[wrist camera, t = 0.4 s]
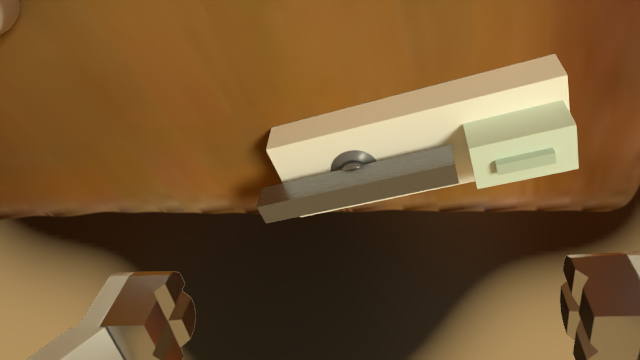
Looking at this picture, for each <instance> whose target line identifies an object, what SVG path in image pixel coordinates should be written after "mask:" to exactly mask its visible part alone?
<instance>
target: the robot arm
mask: <svg viewBox="0 0 640 360" xmlns="http://www.w3.org/2000/svg"><path fill="white" fill-rule="evenodd" d="M563 272H564V274H565V277H566V280H567V281H566V282H565V283H564V284H563V285H562V286H561V293H560V304H561V305H560V306H561V315H562V319H563V324H564V327H565V330H566V333H567V334H568V335H569V336H570V337H571V338H573V339H574V340H575V343H574V350H573V354H574V357H575V360H640V251H635V252H623V253H601V254H580V255H566V257H565V260H564V266H563ZM184 285H185V283H184V281H183V278H182V276H181V274H180V273H178V272H175V271H167V272H166V271H165V272H163V271H162V272H133V273H114V274H113V275H111V276H110V277H109V278H108V280H107V281H106V283H105V284H104V286H103V287H102V289H101V291H100V292H99V294H98V295H97V297H96V298H95V300H94V301H93V303H92V305H91V306H90V308H89V309H88V311H87V313H86V314H85V316H84V317H83V319H82V320H81V322H80V324H79V325H78V327H77V328H70V329H69V330H67V331H66V332H64V333H63V334H61V335H60V336H58V337H57V338H55V339H54V340H53V341H51V342H50V343H48V344H47V345H45V346H44V347H43V348H41V349H40V350H38V351H37V352H36V353H34V354H33V355H31V356H30V357H28V358H27V359H26V360H182V358H183V356H184V355H183V352H182V350H181V346H183V345H184V344H185V343H186V342H187V341H188V340H190V338H191V336H192V333H193V330H194V327H195V318H196V313H195V307H194V304H193V301H192V299H191V297H190V296H188V295H187V294H185V293H184V292H183V291H182V289H183V287H184Z"/></svg>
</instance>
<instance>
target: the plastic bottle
mask: <svg viewBox="0 0 640 360" xmlns="http://www.w3.org/2000/svg"><path fill="white" fill-rule="evenodd" d="M19 14H20V1H19V0H0V34H2V33H4V32H6V31H8V30H9V29H10V28H11V27H12V26H13V24H14V23H15V21H16V20H17V18H18V16H19Z"/></svg>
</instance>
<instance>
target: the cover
mask: <svg viewBox="0 0 640 360" xmlns="http://www.w3.org/2000/svg"><path fill="white" fill-rule="evenodd" d="M463 128H464V132H465V137H466V142H467V146H468V151H469V156H470V160H471V165H472V169H473V173H474V177H475V181H476V186H477V189H481V188H486V187H491V186H495V185H500V184H505V183H510V182H515V181H520V180H525V179H530V178H535V177H540V176H545V175H550V174H555V173H559V172H564V171H569V170H574V169H579V165H578V147H577V128H576V123H575V121H574V119H573V118H572V116H571V114H570V112H569V110H568V108H567V106H566V105H565V103H564V101H563V100H560V101H556V102H552V103H548V104H543V105H539V106H535V107H531V108H526V109H522V110H518V111H514V112H510V113H505V114H501V115H497V116H493V117H489V118H484V119H480V120H476V121H472V122H468V123H463Z"/></svg>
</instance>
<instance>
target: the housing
mask: <svg viewBox="0 0 640 360" xmlns="http://www.w3.org/2000/svg"><path fill="white" fill-rule="evenodd" d="M560 100H563V101H564V103H565V105H566V106H567V108H568V110H569V112H570V109H569V92H568V76H567V73H566V72H565V70H564V68H563V67H562V65H561V63H560V61H559V60H558V58H557V56H556V55H555V54H552V55H548V56H545V57H541V58H537V59H533V60H529V61H525V62H522V63H518V64H514V65H510V66H506V67H502V68H499V69H495V70H491V71H487V72H483V73H479V74H476V75H472V76H468V77H464V78H460V79H457V80H453V81H449V82H445V83H441V84H437V85H434V86H430V87H426V88H422V89H418V90H414V91H411V92H407V93H403V94H399V95H395V96H391V97H388V98H384V99H380V100H376V101H372V102H368V103H365V104H361V105H357V106H353V107H349V108H345V109H342V110H338V111H334V112H330V113H326V114H322V115H319V116H315V117H311V118H307V119H303V120H299V121H296V122H292V123H288V124H284V125H280V126H276V127H273V128H271V132H270V136H269V140H268V144H267V148H266V151H267V153H268V155H269V157H270V159H271V161H272V163H273V165H274V167H275V169H276V171H277V172H278V174H279V176H280V178H281V180H282V182H283V183H285V182H290V181H294V180H298V179H303V178H307V177H311V176H316V175H320V174H325V173H329V172H333V171H338V170H341V167H342V166H343V165H344V164H345V163H346V162H349V161H353V160H356V161H361V162H363V163H365V164H368V163H373V162H377V161H381V160H386V159H390V158H395V157H399V156H403V155H408V154H412V153H417V152H421V151H425V150H430V149H434V148H438V147H443V146H447V145H451V148H452V152H453V156H454V161H455V165H456V170H457V175H458V180H459V183H458V184H453V185H448V186H443V187H439V188H444V187H449V186H454V185H459V184H463V183H468V182H473V181H475V177H474V173H473V169H472V165H471V160H470V156H469V151H468V146H467V142H466V137H465V132H464V128H463V123H468V122H472V121H476V120H480V119H484V118H489V117H493V116H497V115H501V114H505V113H510V112H514V111H518V110H522V109H526V108H531V107H535V106H539V105H543V104H548V103H552V102H556V101H560ZM439 188H434V189H429V190H424V191H419V192H415V193H420V192H425V191H430V190H435V189H439ZM415 193H410V194H415ZM410 194H405V195H400V196H395V197H391V198H396V197H401V196H406V195H410ZM391 198H386V199H391ZM386 199H381V200H386ZM381 200H376V201H371V202H367V203H372V202H377V201H381ZM367 203H362V204H367ZM362 204H357V205H362ZM357 205H352V206H347V207H342V208H338V209H343V208H348V207H353V206H357ZM338 209H333V210H338ZM333 210H328V211H333ZM328 211H323V212H318V213H314V214H319V213H324V212H328ZM309 215H313V214H309ZM309 215H304V216H309ZM304 216H300V217H304Z"/></svg>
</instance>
